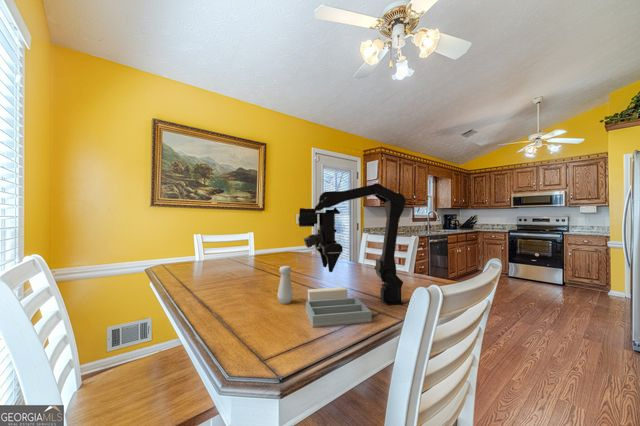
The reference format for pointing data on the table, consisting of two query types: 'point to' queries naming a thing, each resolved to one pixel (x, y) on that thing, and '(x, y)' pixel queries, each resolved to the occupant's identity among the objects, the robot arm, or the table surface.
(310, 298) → the cream rectangular block
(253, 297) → the table surface
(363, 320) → the divided grey tray
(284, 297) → the salt shaker
